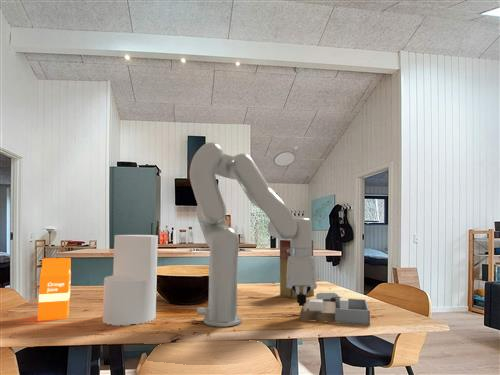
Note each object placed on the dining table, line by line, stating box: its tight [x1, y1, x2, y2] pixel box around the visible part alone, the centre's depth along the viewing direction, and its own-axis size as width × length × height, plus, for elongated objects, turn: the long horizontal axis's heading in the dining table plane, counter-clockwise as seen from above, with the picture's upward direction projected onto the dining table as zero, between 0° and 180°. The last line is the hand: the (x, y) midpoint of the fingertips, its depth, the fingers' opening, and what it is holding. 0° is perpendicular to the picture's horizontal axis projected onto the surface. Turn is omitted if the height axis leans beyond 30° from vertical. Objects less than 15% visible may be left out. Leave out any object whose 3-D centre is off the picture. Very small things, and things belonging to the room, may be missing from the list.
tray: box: [335, 298, 371, 326], centre depth 131 cm, size 11×18×4 cm, turn 167°
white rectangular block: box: [309, 298, 323, 311], centre depth 129 cm, size 4×4×3 cm
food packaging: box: [279, 239, 315, 299], centre depth 169 cm, size 13×9×25 cm
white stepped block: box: [102, 234, 159, 326], centre depth 128 cm, size 17×17×28 cm
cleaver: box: [315, 292, 342, 302], centre depth 159 cm, size 29×10×2 cm, turn 179°
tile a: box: [340, 297, 349, 309], centre depth 137 cm, size 4×4×3 cm
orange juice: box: [37, 257, 72, 322], centre depth 129 cm, size 8×9×20 cm
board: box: [300, 299, 336, 323], centre depth 134 cm, size 12×18×3 cm, turn 167°
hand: (301, 305), depth 131 cm, fingers closed
